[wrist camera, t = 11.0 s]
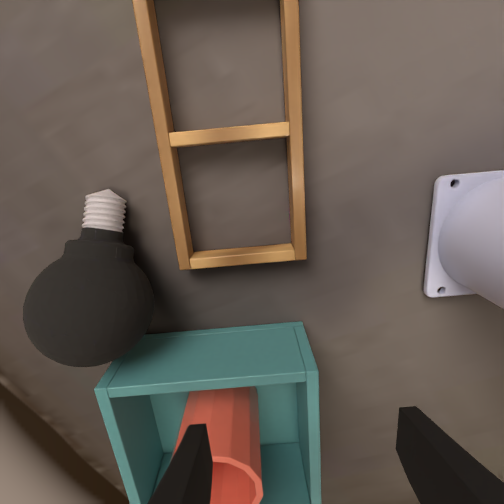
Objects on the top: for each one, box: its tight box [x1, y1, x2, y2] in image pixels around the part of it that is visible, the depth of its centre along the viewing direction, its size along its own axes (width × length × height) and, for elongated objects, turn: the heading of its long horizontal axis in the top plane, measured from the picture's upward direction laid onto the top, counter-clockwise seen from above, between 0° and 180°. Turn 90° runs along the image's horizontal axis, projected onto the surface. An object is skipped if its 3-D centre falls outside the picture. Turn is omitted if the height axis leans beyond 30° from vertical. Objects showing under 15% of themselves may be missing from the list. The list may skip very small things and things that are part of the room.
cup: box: [170, 386, 263, 504], centre depth 19 cm, size 5×5×6 cm
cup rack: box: [132, 0, 307, 270], centre depth 16 cm, size 8×15×2 cm, turn 5°
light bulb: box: [23, 189, 154, 367], centre depth 17 cm, size 6×6×10 cm
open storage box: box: [94, 321, 321, 504], centre depth 20 cm, size 12×11×5 cm
